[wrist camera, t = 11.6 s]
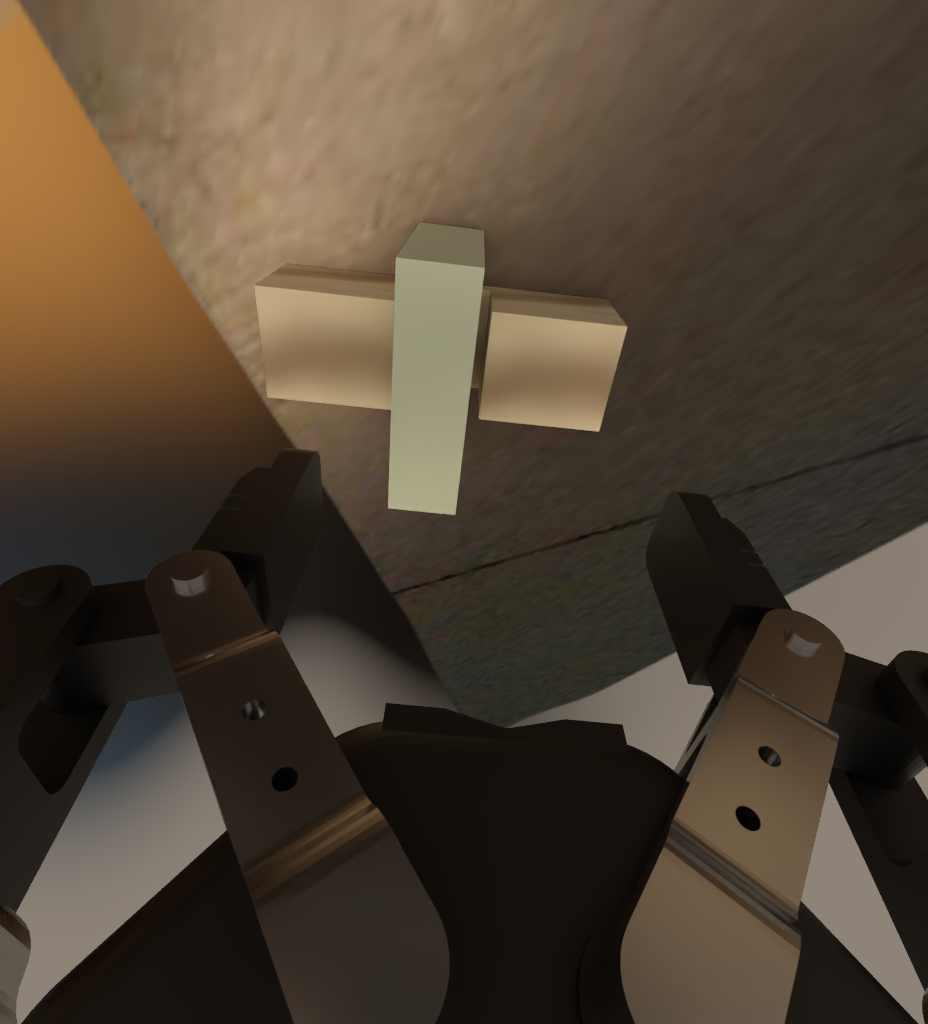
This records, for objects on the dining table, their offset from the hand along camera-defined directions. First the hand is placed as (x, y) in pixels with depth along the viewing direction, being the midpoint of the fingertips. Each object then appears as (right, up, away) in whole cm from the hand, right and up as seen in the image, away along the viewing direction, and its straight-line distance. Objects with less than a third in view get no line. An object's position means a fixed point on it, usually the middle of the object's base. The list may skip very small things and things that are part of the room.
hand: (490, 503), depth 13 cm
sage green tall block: (-2, +10, +20) cm, 23 cm away
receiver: (-2, +11, +21) cm, 24 cm away
